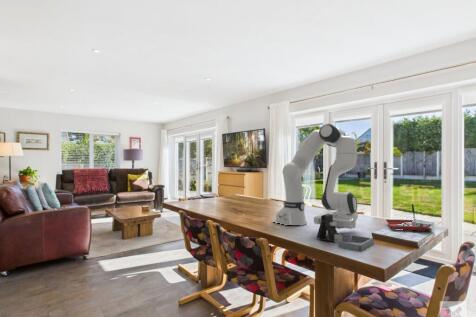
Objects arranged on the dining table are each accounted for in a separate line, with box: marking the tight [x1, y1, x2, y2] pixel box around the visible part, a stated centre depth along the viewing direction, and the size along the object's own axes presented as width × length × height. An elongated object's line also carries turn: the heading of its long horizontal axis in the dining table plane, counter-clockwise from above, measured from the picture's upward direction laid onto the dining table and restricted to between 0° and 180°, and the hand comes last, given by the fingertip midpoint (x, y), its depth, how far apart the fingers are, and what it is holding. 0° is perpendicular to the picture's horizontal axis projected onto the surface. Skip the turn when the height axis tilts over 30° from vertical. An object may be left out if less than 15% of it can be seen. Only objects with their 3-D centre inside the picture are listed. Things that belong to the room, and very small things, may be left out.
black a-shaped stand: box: [316, 213, 338, 242], centre depth 135 cm, size 9×6×12 cm, turn 42°
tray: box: [337, 234, 375, 252], centre depth 125 cm, size 10×15×2 cm
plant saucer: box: [385, 219, 429, 232], centre depth 155 cm, size 18×18×3 cm
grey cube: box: [333, 232, 347, 244], centre depth 130 cm, size 4×4×4 cm
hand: (326, 224), depth 135 cm, fingers closed on black a-shaped stand
